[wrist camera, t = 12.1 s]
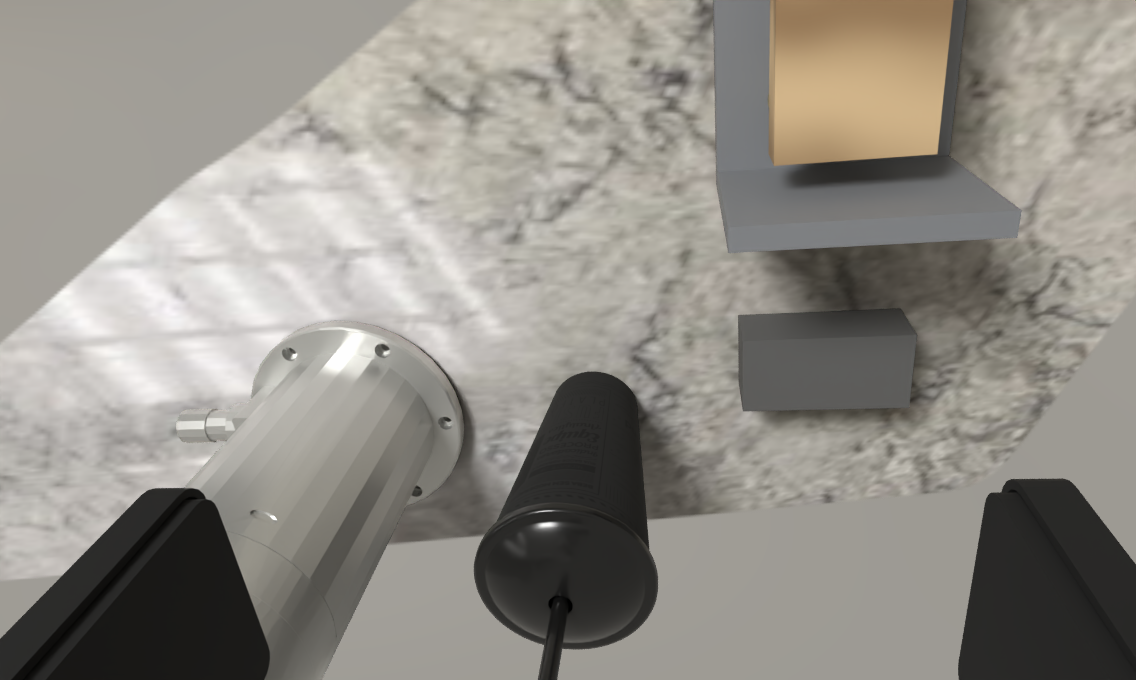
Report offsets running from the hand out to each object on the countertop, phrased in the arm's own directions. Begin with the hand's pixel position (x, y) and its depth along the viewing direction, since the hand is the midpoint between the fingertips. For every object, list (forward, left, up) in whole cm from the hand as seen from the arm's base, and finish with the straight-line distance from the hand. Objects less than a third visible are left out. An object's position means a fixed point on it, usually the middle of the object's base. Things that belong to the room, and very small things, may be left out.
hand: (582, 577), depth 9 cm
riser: (+8, -12, -30) cm, 34 cm away
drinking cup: (-4, -16, -30) cm, 34 cm away
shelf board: (+8, +5, -26) cm, 27 cm away
